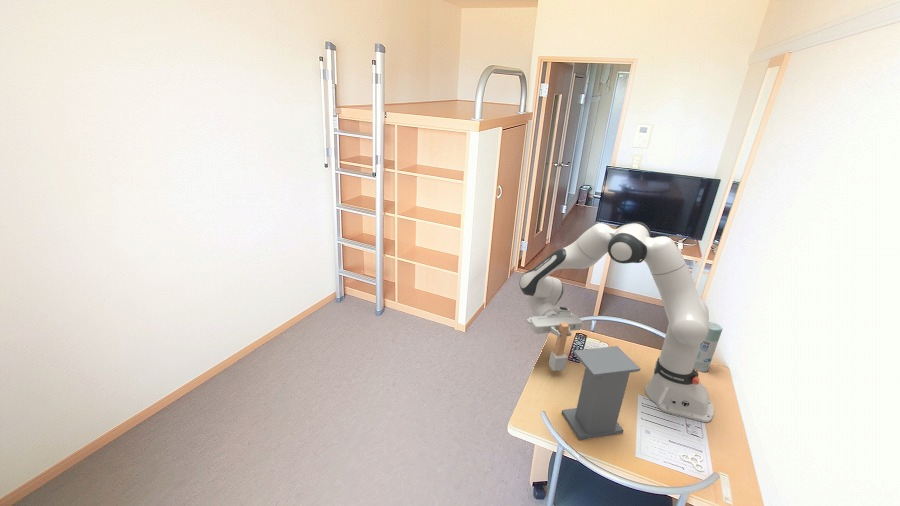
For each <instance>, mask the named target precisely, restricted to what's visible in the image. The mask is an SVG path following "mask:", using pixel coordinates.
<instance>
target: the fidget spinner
mask: <svg viewBox="0 0 900 506" xmlns="http://www.w3.org/2000/svg"><path fill="white" fill-rule="evenodd" d="M683 456H684V457H686V458H687V457H688V458H687V459H686V458H684V457H683ZM696 456H697V457H699V458H697V457H696ZM679 458H680V460H681V461H683V460H684V461H683V462H685V463H689V464H691V465H692V467H693V469H694V470H696V471H697V472H699V473H703V472H704V471H705V468H704V466H703V465H702V464H701V462H703V461H704V457H703V456H702V455H701V454H699V453H696V452H695V453H693V454H692V455H688V454H686V453H681V454H679ZM693 460H695V461H696V462H694V461H693ZM697 466H698V467H700V468H701V469H700V468H698V467H697Z"/></svg>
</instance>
